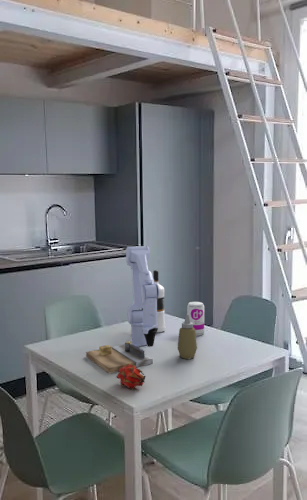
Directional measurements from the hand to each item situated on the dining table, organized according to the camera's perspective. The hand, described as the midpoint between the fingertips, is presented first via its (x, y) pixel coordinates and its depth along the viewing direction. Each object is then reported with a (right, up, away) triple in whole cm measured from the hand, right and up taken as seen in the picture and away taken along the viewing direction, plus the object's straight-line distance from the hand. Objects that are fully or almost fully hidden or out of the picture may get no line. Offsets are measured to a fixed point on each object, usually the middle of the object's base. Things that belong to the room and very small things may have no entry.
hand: (150, 346), depth 197 cm
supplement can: (+22, -1, +34) cm, 40 cm away
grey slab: (-13, -6, -1) cm, 14 cm away
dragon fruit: (-6, -9, -27) cm, 29 cm away
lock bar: (-6, -3, -1) cm, 7 cm away
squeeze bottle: (+15, -5, +3) cm, 16 cm away
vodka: (+3, -1, +40) cm, 40 cm away
